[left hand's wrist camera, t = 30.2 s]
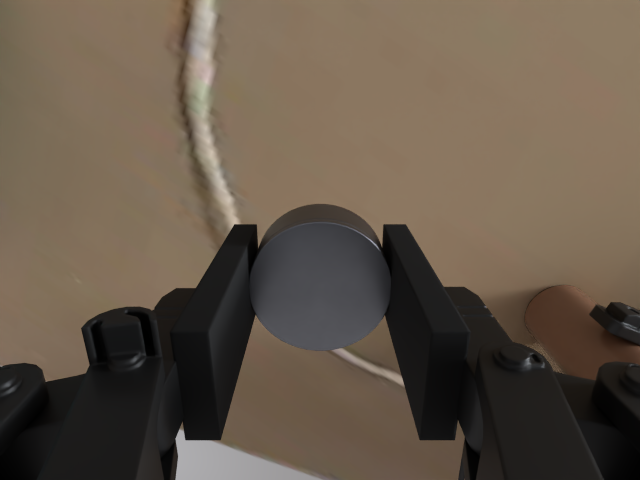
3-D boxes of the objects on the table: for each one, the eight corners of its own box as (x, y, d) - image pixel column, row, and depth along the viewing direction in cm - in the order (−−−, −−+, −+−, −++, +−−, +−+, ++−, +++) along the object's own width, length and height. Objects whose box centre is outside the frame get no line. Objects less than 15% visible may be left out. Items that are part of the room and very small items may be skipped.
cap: (325, 340, 16) (325, 374, 14) (231, 269, 15) (218, 296, 13) (409, 259, 14) (422, 285, 13) (314, 176, 13) (313, 190, 12)
